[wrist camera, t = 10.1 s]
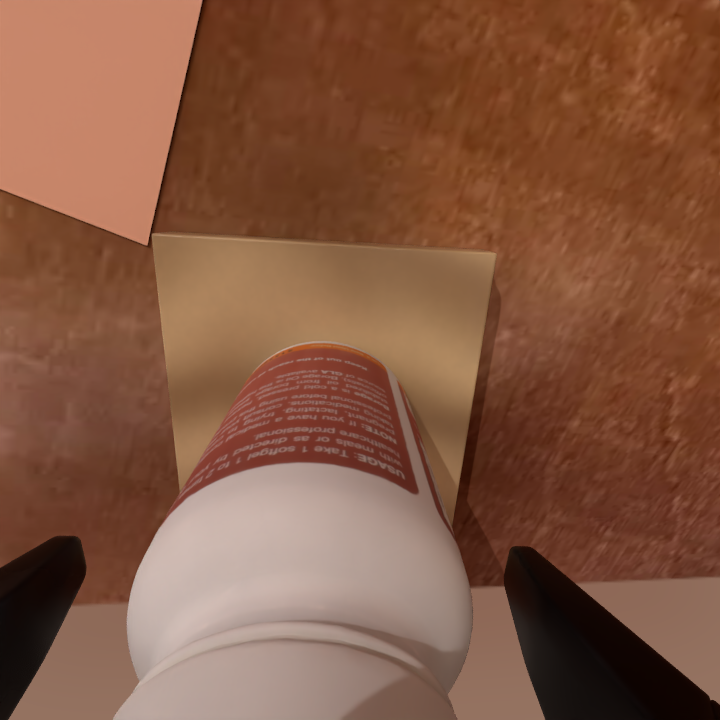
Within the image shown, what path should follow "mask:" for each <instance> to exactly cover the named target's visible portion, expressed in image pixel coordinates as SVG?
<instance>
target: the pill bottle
mask: <svg viewBox="0 0 720 720" xmlns="http://www.w3.org/2000/svg"><path fill="white" fill-rule="evenodd" d="M472 619H473V607H472V596H471V591H470V585H469V582H468V578H467V574H466V571H465V567H464V564H463V561H462V557H461V554H460V551H459V547H458V544H457V541H456V539H455V536H454V533H453V530H452V527H451V524H450V521H449V518H448V515H447V513H446V510H445V506H444V503H443V500H442V497H441V495H440V492H439V489H438V485H437V482H436V480H435V477H434V474H433V470H432V467H431V464H430V462H429V459H428V456H427V453H426V450H425V447H424V444H423V441H422V438H421V435H420V432H419V429H418V426H417V424H416V420H415V417H414V415H413V412H412V409H411V406H410V403H409V400H408V398H407V396H406V393H405V391H404V389H403V387H402V385H401V384H400V382H399V380H398V379H397V377H396V376H395V375H394V374H393V372H392V371H391V370H390V369H389V368H388V367H387V366H386V365H385V364H384V363H383V362H381V361H380V360H379V359H377V358H376V357H375V356H373V355H371V354H369V353H368V352H366V351H364V350H361V349H359V348H356V347H353V346H350V345H347V344H343V343H338V342H331V341H312V342H305V343H300V344H296V345H293V346H290V347H288V348H285V349H283V350H281V351H279V352H277V353H275V354H274V355H272V356H271V357H269V358H268V359H266V360H265V361H264V362H263V363H261V364H260V365H259V366H258V367H257V369H256V370H255V371H254V372H253V373H252V374H251V376H250V377H249V378H248V380H247V381H246V382H245V384H244V386H243V387H242V389H241V391H240V392H239V394H238V396H237V397H236V399H235V401H234V402H233V404H232V406H231V407H230V409H229V411H228V413H227V414H226V416H225V418H224V419H223V421H222V423H221V424H220V426H219V428H218V429H217V431H216V433H215V435H214V436H213V438H212V440H211V441H210V443H209V444H208V446H207V448H206V450H205V451H204V453H203V455H202V457H201V458H200V460H199V462H198V463H197V465H196V467H195V468H194V470H193V472H192V473H191V475H190V477H189V479H188V480H187V482H186V484H185V485H184V487H183V489H182V490H181V492H180V494H179V495H178V497H177V499H176V500H175V502H174V503H173V505H172V507H171V508H170V510H169V512H168V514H167V515H166V517H165V519H164V520H163V522H162V524H161V526H160V528H159V530H158V531H157V533H156V535H155V536H154V539H153V541H152V543H151V544H150V546H149V548H148V550H147V552H146V554H145V556H144V558H143V560H142V562H141V564H140V566H139V568H138V571H137V573H136V577H135V580H134V583H133V586H132V590H131V594H130V599H129V605H128V614H127V638H128V645H129V652H130V655H131V659H132V663H133V666H134V668H135V671H136V674H137V677H138V679H139V681H140V682H139V684H138V685H137V687H136V688H135V689H134V691H133V693H132V695H131V696H130V697H129V698H128V699H127V700H126V701H125V702H124V704H123V705H122V706H121V707H120V709H119V710H118V711H117V713H116V714H115V716H114V718H113V720H457V717H456V715H455V714H454V710H453V707H452V704H451V702H450V700H449V698H448V693H449V691H450V690H451V688H452V687H453V685H454V683H455V681H456V679H457V677H458V675H459V673H460V672H461V669H462V667H463V664H464V662H465V659H466V656H467V653H468V649H469V644H470V638H471V632H472Z"/></svg>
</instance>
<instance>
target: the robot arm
mask: <svg viewBox="0 0 720 720" xmlns="http://www.w3.org/2000/svg"><path fill="white" fill-rule="evenodd" d="M85 575H86V562H85V557H84V553H83V548H82V544H81V540H80V539H79V538H78V537H76V536H56V537H53V538H51V539H49V540H48V541H46V542H44V543H43V544H41V545H39V546H37V547H36V548H34V549H32V550H30V551H29V552H27V553H25V554H24V555H22V556H20V557H18V558H17V559H15V560H13V561H11V562H10V563H8V564H6V565H4V566H3V567H1V568H0V720H8V719H9V717H10V716H11V714H12V713H13V711H14V709H15V708H16V706H17V704H18V703H19V701H20V699H21V698H22V696H23V694H24V693H25V691H26V689H27V688H28V686H29V684H30V683H31V681H32V679H33V678H34V676H35V674H36V673H37V671H38V669H39V667H40V666H41V664H42V662H43V661H44V659H45V657H46V655H47V653H48V651H49V649H50V647H51V645H52V643H53V641H54V639H55V637H56V635H57V633H58V631H59V629H60V627H61V625H62V623H63V621H64V619H65V617H66V615H67V613H68V611H69V609H70V607H71V605H72V603H73V601H74V599H75V597H76V595H77V593H78V591H79V589H80V587H81V585H82V582H83V580H84V578H85ZM504 586H505V590H506V594H507V597H508V601H509V605H510V609H511V612H512V616H513V620H514V624H515V627H516V631H517V635H518V639H519V642H520V646H521V650H522V654H523V657H524V660H525V664H526V667H527V670H528V673H529V676H530V679H531V681H532V684H533V687H534V690H535V692H536V695H537V698H538V701H539V704H540V706H541V709H542V711H543V714H544V717H545V720H720V705H719V704H718V703H717V702H716V701H714V700H710V698H709V696H708V695H707V694H706V693H705V692H704V691H703V690H701V689H700V688H699V687H698V686H696V685H695V684H694V683H693V682H692V681H691V680H689V679H688V678H687V677H686V676H685V675H683V674H682V673H681V672H680V671H679V670H678V669H676V668H675V667H674V666H673V665H672V664H670V663H669V662H668V661H667V660H666V659H664V658H663V657H662V656H661V655H660V654H658V653H657V652H656V651H655V650H654V649H652V648H651V647H650V646H649V645H648V644H646V643H645V642H644V641H643V640H642V639H641V638H639V637H638V636H637V635H636V634H635V633H633V632H632V631H631V630H630V629H629V628H627V627H626V626H625V625H624V624H623V623H622V622H620V621H619V620H618V619H617V618H615V617H614V616H613V615H612V614H611V613H610V612H608V611H607V610H606V609H605V608H604V607H602V606H601V605H600V604H599V603H598V602H596V601H595V600H594V599H593V598H592V597H590V596H589V595H588V594H587V593H586V592H585V591H583V590H582V589H581V588H580V587H579V586H577V585H576V584H575V583H574V582H573V581H571V580H570V579H569V578H568V577H567V576H566V575H564V574H563V573H562V572H561V571H560V570H558V569H557V568H556V567H555V566H554V565H552V564H551V563H550V562H549V561H548V560H546V559H545V558H544V557H543V556H542V555H540V554H539V553H538V552H537V551H536V550H534V549H533V548H531V547H527V546H514V547H512V548H511V549H510V551H509V555H508V560H507V564H506V568H505V573H504Z"/></svg>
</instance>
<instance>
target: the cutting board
mask: <svg viewBox="0 0 720 720" xmlns="http://www.w3.org/2000/svg"><path fill="white" fill-rule="evenodd" d="M152 244H153V253H154V262H155V271H156V280H157V289H158V298H159V307H160V316H161V325H162V334H163V343H164V352H165V361H166V370H167V379H168V388H169V397H170V406H171V415H172V424H173V433H174V442H175V451H176V460H177V469H178V478H179V487H180V492H181V490H182V489H183V487H184V485H185V484H186V482H187V480H188V479H189V477H190V475H191V473H192V472H193V470H194V468H195V467H196V465H197V463H198V462H199V460H200V458H201V457H202V455H203V453H204V451H205V450H206V448H207V446H208V444H209V443H210V441H211V440H212V438H213V436H214V435H215V433H216V431H217V429H218V428H219V426H220V424H221V423H222V421H223V419H224V418H225V416H226V414H227V413H228V411H229V409H230V407H231V406H232V404H233V402H234V401H235V399H236V397H237V396H238V394H239V392H240V391H241V389H242V387H243V386H244V384H245V382H246V381H247V380H248V378H249V377H250V376H251V374H252V373H253V372H254V371H255V370H256V369H257V367H258V366H259V365H260V364H261V363H263V362H264V361H265V360H266V359H268V358H269V357H271V356H272V355H274V354H275V353H277V352H279V351H281V350H283V349H285V348H288V347H290V346H293V345H296V344H300V343H305V342H312V341H331V342H338V343H343V344H347V345H350V346H353V347H356V348H359V349H361V350H364V351H366V352H368V353H369V354H371V355H373V356H375V357H376V358H377V359H379V360H380V361H381V362H383V363H384V364H385V365H386V366H387V367H388V368H389V369H390V370H391V371H392V372H393V374H394V375H395V376H396V377H397V379H398V380H399V382H400V384H401V385H402V387H403V389H404V391H405V393H406V396H407V398H408V400H409V403H410V406H411V409H412V412H413V415H414V417H415V420H416V424H417V426H418V429H419V432H420V435H421V438H422V441H423V444H424V447H425V450H426V453H427V456H428V459H429V462H430V464H431V467H432V470H433V474H434V477H435V480H436V482H437V485H438V489H439V492H440V495H441V497H442V500H443V503H444V506H445V510H446V513H447V515H448V518H449V521H450V524H451V527H452V524H453V518H454V512H455V506H456V500H457V494H458V488H459V482H460V476H461V470H462V464H463V458H464V452H465V446H466V439H467V433H468V427H469V421H470V415H471V409H472V403H473V397H474V391H475V385H476V379H477V373H478V367H479V361H480V354H481V348H482V342H483V336H484V330H485V324H486V318H487V312H488V306H489V300H490V294H491V288H492V282H493V276H494V269H495V263H496V257H497V254H496V253H495V252H491V251H487V250H483V249H467V248H449V247H432V246H414V245H397V244H379V243H362V242H344V241H327V240H309V239H292V238H274V237H257V236H239V235H222V234H204V233H187V232H161V233H153V234H152Z"/></svg>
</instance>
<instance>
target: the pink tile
mask: <svg viewBox="0 0 720 720" xmlns="http://www.w3.org/2000/svg"><path fill="white" fill-rule="evenodd" d="M201 5H202V0H0V189H2V190H4V191H7V192H9V193H12V194H14V195H17V196H20V197H22V198H25V199H27V200H30V201H33V202H35V203H38V204H40V205H43V206H45V207H48V208H51V209H53V210H56V211H58V212H61V213H64V214H66V215H69V216H71V217H74V218H76V219H79V220H82V221H84V222H87V223H89V224H92V225H95V226H97V227H100V228H102V229H105V230H107V231H110V232H113V233H115V234H118V235H120V236H123V237H126V238H128V239H131V240H133V241H136V242H138V243H141V244H144V245H146V246H147V244H148V239H149V235H150V231H151V226H152V222H153V217H154V213H155V208H156V204H157V200H158V195H159V191H160V186H161V182H162V177H163V173H164V169H165V164H166V160H167V155H168V151H169V146H170V142H171V138H172V133H173V129H174V124H175V120H176V115H177V111H178V107H179V102H180V98H181V93H182V89H183V84H184V80H185V76H186V71H187V67H188V62H189V58H190V53H191V49H192V45H193V40H194V36H195V31H196V27H197V22H198V18H199V14H200V9H201Z"/></svg>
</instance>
